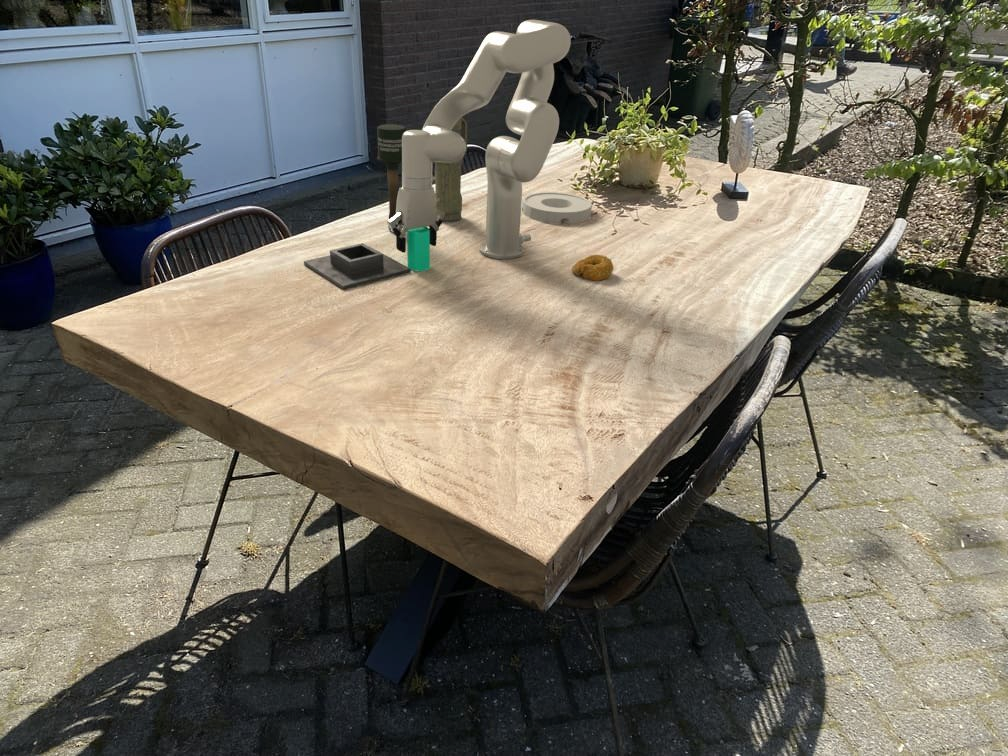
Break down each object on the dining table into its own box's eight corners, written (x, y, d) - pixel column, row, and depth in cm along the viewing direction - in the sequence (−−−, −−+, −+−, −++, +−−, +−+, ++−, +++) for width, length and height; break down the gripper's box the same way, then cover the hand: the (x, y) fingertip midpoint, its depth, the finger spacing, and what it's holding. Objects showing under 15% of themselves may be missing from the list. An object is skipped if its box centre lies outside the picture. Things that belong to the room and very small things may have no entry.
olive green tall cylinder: (471, 219, 225) (474, 103, 207) (438, 224, 219) (439, 105, 201) (456, 211, 231) (458, 98, 213) (425, 216, 225) (424, 100, 207)
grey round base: (545, 199, 250) (546, 188, 248) (603, 213, 238) (604, 201, 236) (507, 213, 233) (508, 201, 231) (567, 229, 222) (568, 217, 220)
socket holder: (369, 249, 197) (368, 234, 195) (410, 272, 184) (410, 256, 182) (304, 264, 185) (302, 248, 183) (343, 289, 173) (342, 272, 170)
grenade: (374, 232, 210) (370, 127, 195) (389, 224, 217) (386, 122, 202) (399, 237, 207) (396, 131, 192) (413, 228, 214) (412, 126, 199)
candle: (426, 272, 185) (425, 228, 179) (404, 269, 186) (403, 225, 180) (432, 264, 190) (432, 221, 184) (411, 261, 191) (410, 218, 185)
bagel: (570, 267, 194) (572, 250, 192) (610, 269, 194) (612, 252, 191) (572, 280, 185) (574, 263, 183) (614, 283, 185) (616, 266, 183)
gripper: (435, 175, 184) (434, 238, 193) (379, 183, 174) (380, 249, 182) (453, 182, 179) (451, 246, 188) (396, 190, 169) (397, 258, 177)
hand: (416, 247), depth 185 cm, fingers open, 9 cm apart
